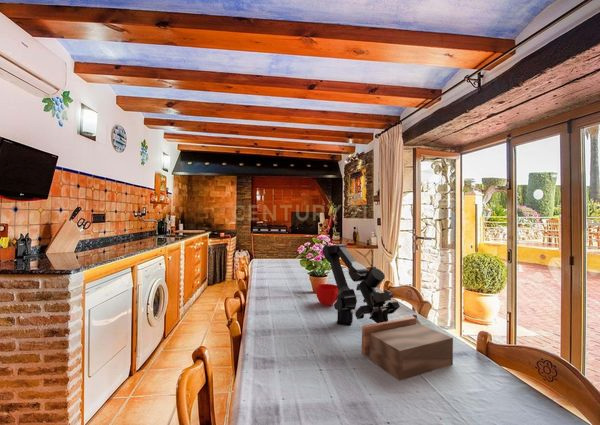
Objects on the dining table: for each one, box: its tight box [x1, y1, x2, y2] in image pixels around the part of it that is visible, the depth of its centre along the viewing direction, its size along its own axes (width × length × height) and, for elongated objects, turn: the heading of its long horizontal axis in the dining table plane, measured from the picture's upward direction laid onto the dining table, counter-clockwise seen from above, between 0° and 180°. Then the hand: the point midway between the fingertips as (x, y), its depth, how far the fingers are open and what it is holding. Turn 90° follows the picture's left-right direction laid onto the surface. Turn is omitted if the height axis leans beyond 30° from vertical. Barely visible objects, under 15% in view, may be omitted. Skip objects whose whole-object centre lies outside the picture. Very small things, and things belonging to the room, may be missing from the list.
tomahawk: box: [412, 314, 422, 324], centre depth 135 cm, size 21×7×1 cm, turn 167°
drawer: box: [361, 316, 417, 357], centre depth 102 cm, size 14×25×10 cm, turn 115°
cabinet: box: [369, 323, 454, 381], centre depth 98 cm, size 14×24×9 cm, turn 115°
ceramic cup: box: [315, 283, 338, 307], centre depth 161 cm, size 13×17×10 cm
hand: (388, 330), depth 108 cm, fingers closed, pressing on drawer
